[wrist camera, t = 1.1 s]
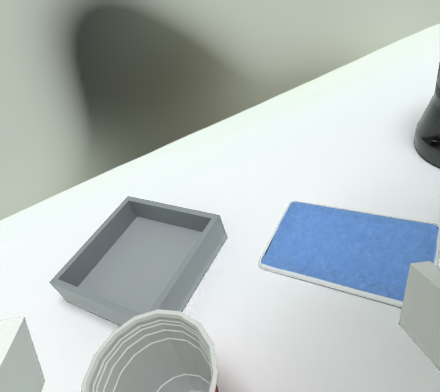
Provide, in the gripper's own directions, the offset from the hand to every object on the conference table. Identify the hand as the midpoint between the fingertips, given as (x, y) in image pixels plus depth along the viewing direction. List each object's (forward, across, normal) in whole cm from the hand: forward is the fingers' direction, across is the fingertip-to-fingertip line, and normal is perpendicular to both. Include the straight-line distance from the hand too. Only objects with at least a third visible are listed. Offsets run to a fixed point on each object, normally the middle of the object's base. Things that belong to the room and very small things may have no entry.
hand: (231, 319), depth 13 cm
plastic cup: (+14, -2, -25) cm, 28 cm away
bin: (+34, -6, -20) cm, 39 cm away
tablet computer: (+26, +19, -16) cm, 36 cm away
